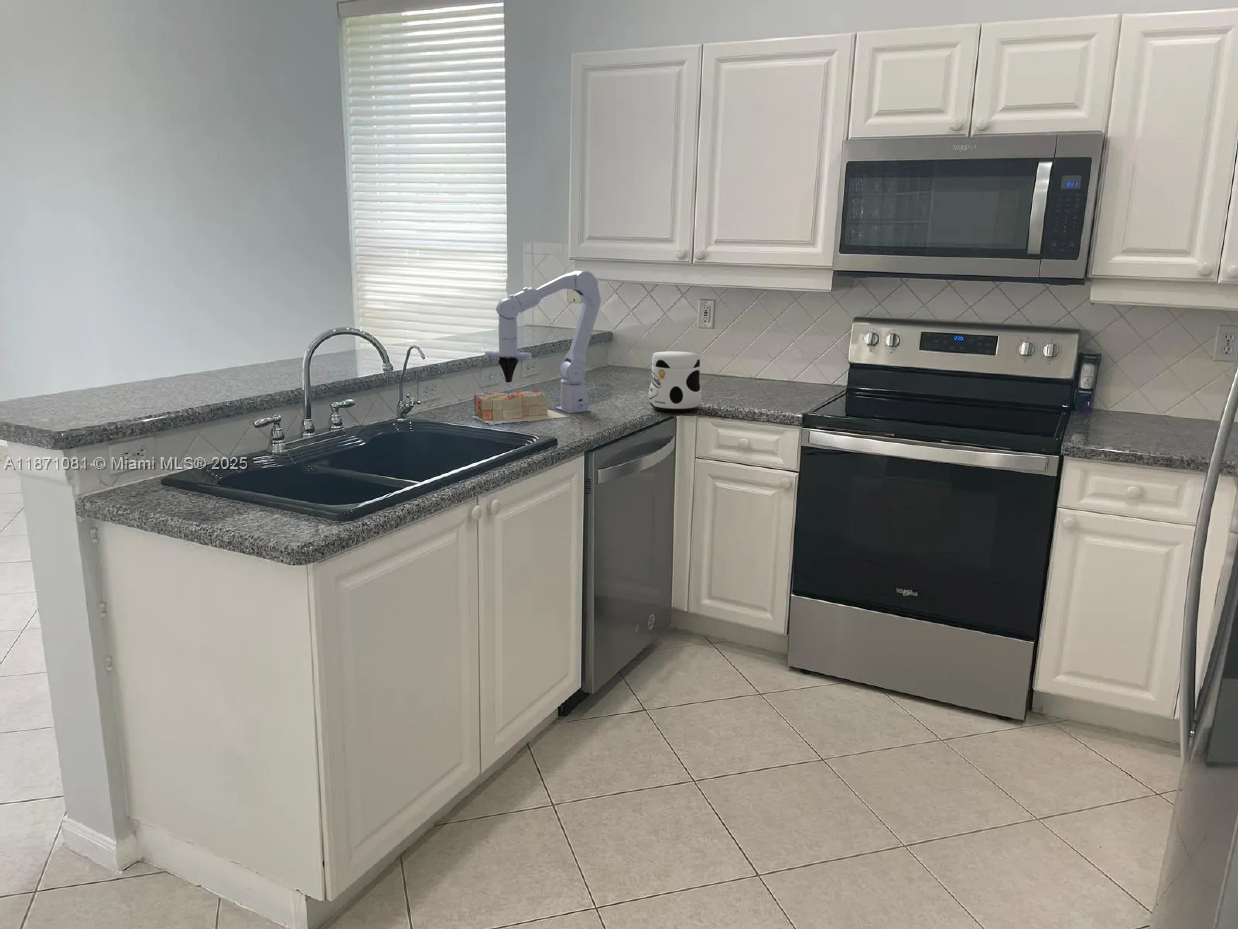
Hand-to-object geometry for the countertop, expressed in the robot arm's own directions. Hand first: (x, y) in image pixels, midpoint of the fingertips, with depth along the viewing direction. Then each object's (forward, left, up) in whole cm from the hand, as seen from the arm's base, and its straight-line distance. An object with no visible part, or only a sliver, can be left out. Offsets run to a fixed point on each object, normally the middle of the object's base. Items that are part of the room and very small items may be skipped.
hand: (508, 381), depth 282 cm
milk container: (-20, -50, -10) cm, 55 cm away
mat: (-8, 0, -10) cm, 13 cm away
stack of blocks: (+2, 0, -7) cm, 7 cm away
